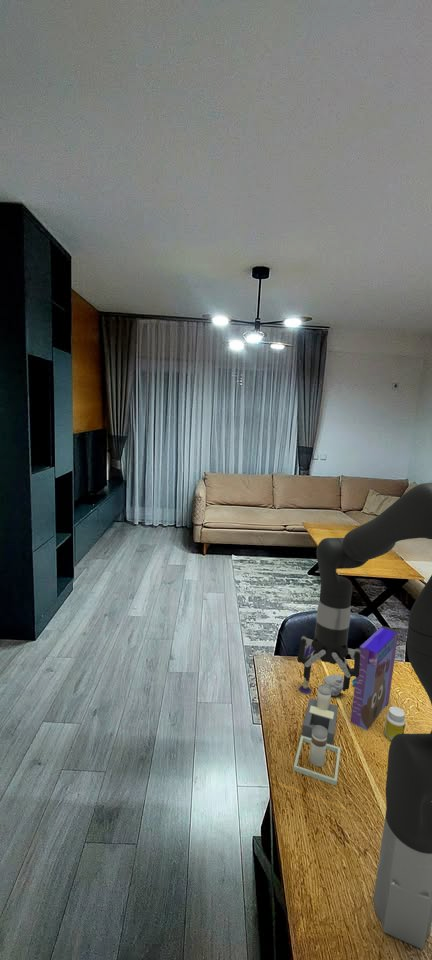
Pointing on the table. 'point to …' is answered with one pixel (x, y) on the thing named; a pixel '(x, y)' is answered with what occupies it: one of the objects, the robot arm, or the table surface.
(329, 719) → the fuse block
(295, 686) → the table surface
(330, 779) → the pale green flat frame
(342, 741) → the table surface
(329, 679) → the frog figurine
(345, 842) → the table surface
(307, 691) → the toy lamp
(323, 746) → the cylinder
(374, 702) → the cereal box
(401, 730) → the supplement bottle
